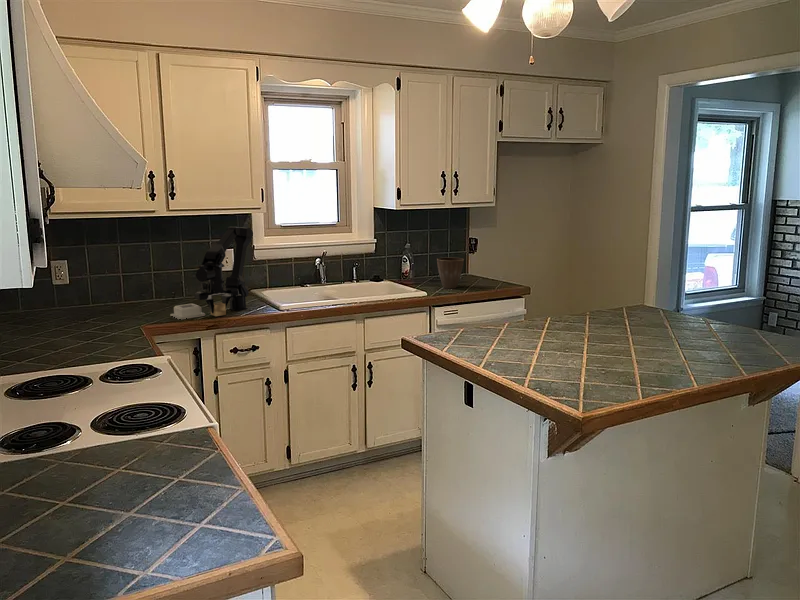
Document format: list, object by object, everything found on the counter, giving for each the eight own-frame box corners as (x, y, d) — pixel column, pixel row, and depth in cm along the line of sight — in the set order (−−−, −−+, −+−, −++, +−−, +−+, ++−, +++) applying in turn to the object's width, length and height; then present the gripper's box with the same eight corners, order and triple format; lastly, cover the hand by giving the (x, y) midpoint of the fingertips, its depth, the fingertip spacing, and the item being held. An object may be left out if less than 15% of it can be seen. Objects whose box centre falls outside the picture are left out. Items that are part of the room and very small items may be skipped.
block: (221, 313, 292) (220, 302, 291) (226, 314, 288) (225, 303, 287) (210, 314, 289) (209, 303, 288) (215, 316, 285) (214, 305, 284)
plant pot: (450, 284, 366) (451, 256, 363) (469, 287, 355) (469, 258, 352) (431, 287, 357) (431, 258, 354) (449, 290, 346) (449, 261, 343)
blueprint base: (196, 312, 297) (195, 302, 296) (205, 315, 290) (204, 305, 289) (170, 316, 289) (169, 306, 288) (179, 319, 282) (178, 309, 281)
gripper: (227, 273, 297) (229, 306, 300) (188, 278, 285) (190, 312, 288) (238, 276, 289) (240, 310, 292) (198, 281, 277) (201, 316, 280)
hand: (218, 312), depth 288 cm, fingers closed on block, 5 cm apart
